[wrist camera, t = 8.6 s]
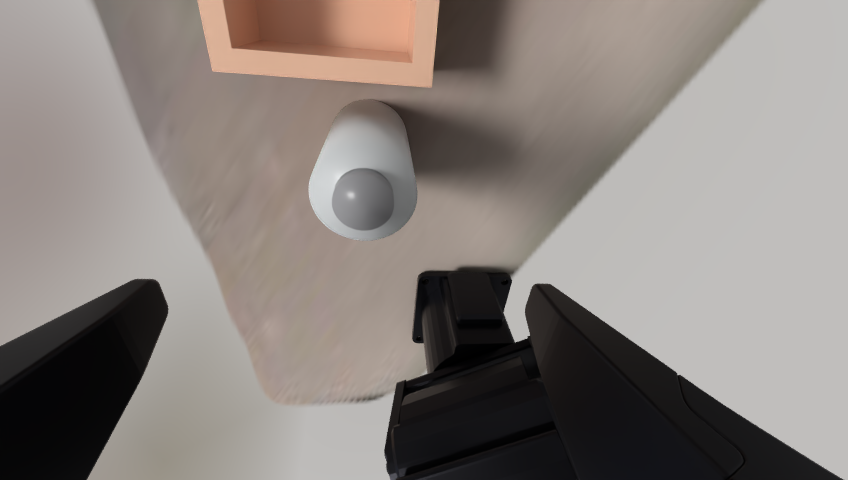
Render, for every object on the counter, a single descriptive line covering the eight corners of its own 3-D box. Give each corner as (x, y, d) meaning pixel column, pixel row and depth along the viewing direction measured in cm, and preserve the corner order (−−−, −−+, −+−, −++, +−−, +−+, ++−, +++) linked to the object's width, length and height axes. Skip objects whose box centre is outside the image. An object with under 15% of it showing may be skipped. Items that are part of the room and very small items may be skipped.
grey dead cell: (405, 175, 20) (414, 251, 14) (333, 172, 20) (310, 249, 14) (409, 102, 18) (423, 153, 12) (328, 96, 18) (299, 146, 12)
